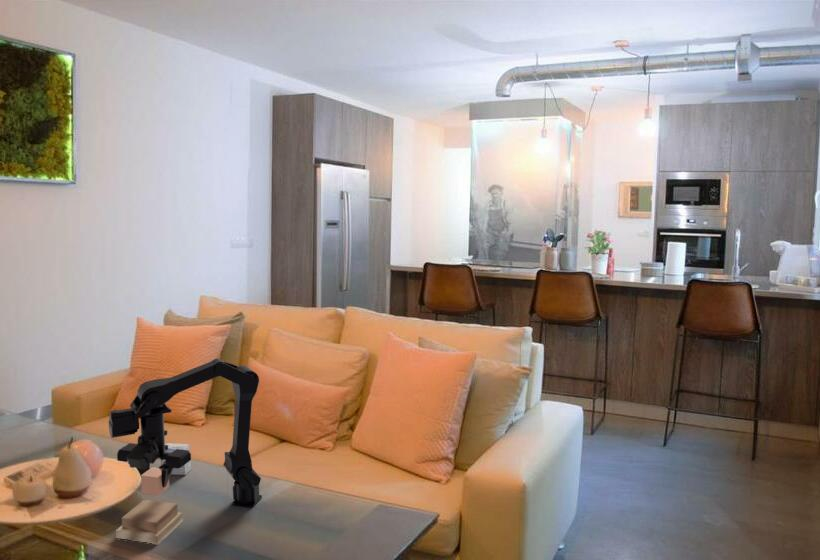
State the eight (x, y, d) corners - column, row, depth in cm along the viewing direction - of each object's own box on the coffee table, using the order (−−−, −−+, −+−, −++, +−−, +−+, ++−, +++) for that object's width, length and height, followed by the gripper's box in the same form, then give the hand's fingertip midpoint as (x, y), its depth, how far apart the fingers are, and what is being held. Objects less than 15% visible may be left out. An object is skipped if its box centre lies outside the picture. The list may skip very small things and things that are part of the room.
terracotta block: (169, 486, 186) (168, 469, 185) (158, 495, 181) (157, 477, 180) (153, 484, 187) (152, 467, 186) (141, 493, 182) (140, 475, 181)
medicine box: (191, 469, 218) (190, 443, 217) (185, 476, 214) (184, 449, 212) (167, 468, 219) (165, 442, 218) (161, 474, 215) (159, 448, 213)
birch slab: (183, 523, 188) (182, 512, 187) (158, 547, 176) (157, 536, 176) (143, 517, 190) (143, 507, 190) (116, 541, 179) (115, 530, 178)
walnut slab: (177, 514, 187) (177, 503, 186) (157, 533, 177) (156, 522, 176) (144, 509, 189) (144, 499, 188) (122, 528, 179) (121, 517, 178)
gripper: (101, 438, 175) (105, 495, 178) (166, 446, 171) (169, 504, 174) (128, 422, 186) (131, 476, 189) (190, 429, 182) (193, 484, 184)
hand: (155, 485), depth 183 cm, fingers closed on terracotta block, 5 cm apart
